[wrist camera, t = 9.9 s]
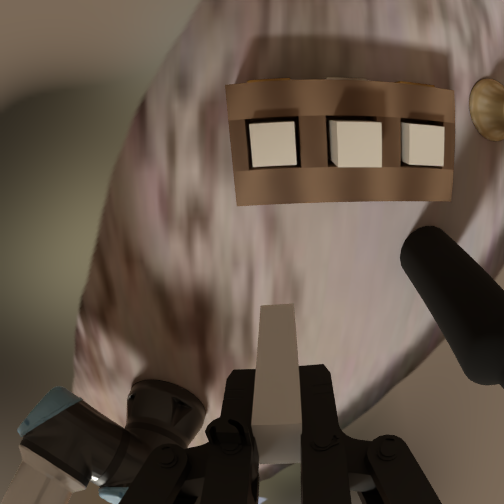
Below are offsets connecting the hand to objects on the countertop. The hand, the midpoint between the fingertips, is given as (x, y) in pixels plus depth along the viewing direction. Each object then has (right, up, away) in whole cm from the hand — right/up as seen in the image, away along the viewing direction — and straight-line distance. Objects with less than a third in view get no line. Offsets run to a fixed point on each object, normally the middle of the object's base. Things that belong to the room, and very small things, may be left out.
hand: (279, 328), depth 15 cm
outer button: (+16, +16, +16) cm, 27 cm away
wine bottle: (+21, +4, +22) cm, 31 cm away
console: (+9, +16, +17) cm, 25 cm away
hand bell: (+29, +22, +13) cm, 39 cm away
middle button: (+8, +15, +15) cm, 22 cm away
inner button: (+1, +15, +17) cm, 23 cm away
